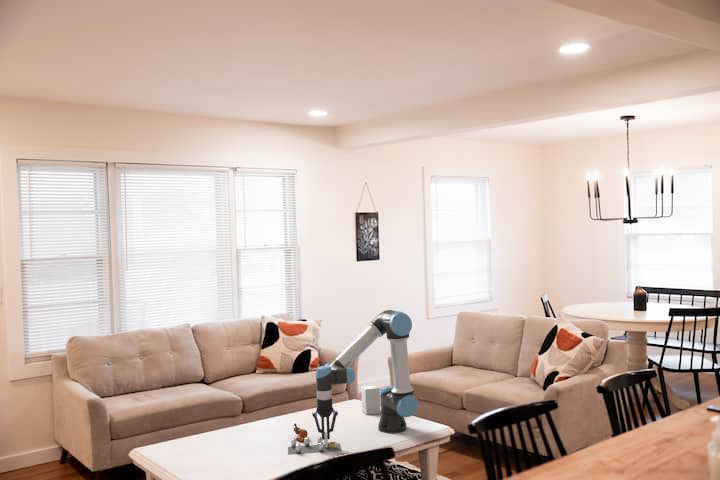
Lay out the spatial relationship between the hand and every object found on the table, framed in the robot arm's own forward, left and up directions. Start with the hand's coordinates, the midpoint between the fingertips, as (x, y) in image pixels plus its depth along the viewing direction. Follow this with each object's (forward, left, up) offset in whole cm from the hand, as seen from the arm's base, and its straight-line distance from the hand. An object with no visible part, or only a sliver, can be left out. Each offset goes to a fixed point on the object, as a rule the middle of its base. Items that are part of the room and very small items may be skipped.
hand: (326, 445), depth 326 cm
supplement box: (-30, -61, -2) cm, 68 cm away
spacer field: (+9, 0, -1) cm, 9 cm away
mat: (+6, 0, -2) cm, 6 cm away
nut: (-3, +1, -1) cm, 3 cm away
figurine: (+12, -19, -2) cm, 23 cm away
